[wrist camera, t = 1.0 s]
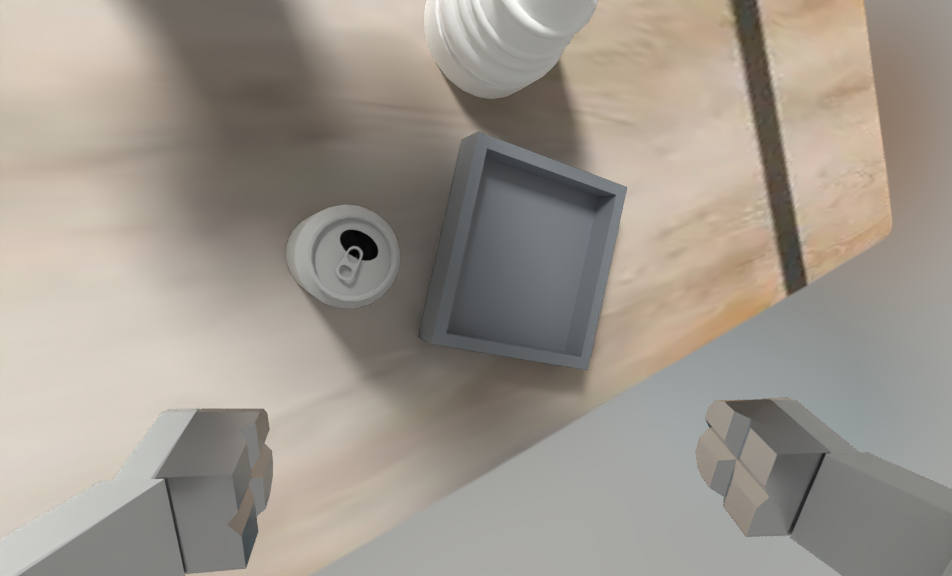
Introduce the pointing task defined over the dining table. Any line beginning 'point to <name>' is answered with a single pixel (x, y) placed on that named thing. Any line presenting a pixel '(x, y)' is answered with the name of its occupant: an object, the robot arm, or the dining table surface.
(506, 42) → the honey pot
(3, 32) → the dining table surface
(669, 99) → the dining table surface
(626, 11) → the dining table surface
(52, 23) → the dining table surface
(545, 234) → the tray
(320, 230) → the can
